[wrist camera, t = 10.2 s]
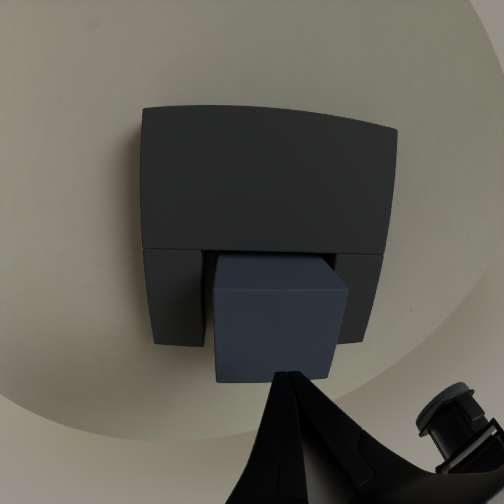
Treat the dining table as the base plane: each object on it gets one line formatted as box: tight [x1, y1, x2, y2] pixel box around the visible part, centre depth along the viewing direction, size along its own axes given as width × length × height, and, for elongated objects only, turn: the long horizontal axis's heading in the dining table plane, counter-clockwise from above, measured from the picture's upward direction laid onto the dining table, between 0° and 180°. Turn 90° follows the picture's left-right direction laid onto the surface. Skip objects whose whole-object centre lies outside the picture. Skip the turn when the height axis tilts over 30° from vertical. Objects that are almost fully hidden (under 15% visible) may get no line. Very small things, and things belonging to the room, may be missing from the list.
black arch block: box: [140, 105, 398, 347], centre depth 13 cm, size 12×12×2 cm
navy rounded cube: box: [213, 250, 349, 383], centre depth 13 cm, size 5×5×5 cm
